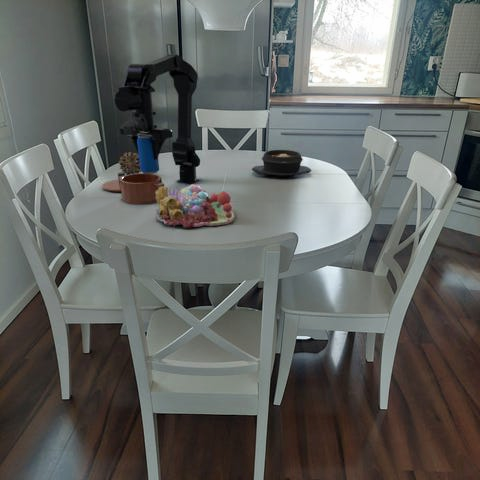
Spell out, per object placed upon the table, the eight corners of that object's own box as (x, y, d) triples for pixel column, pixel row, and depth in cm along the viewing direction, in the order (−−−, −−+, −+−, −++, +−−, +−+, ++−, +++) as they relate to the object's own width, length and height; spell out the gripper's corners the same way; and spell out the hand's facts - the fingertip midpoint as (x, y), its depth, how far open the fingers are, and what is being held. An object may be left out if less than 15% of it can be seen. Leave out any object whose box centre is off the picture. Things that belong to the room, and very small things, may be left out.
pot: (136, 189, 169) (134, 170, 166) (176, 197, 160) (175, 177, 157) (108, 198, 159) (105, 178, 156) (149, 208, 150) (147, 187, 147)
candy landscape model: (165, 233, 130) (163, 202, 125) (146, 210, 149) (143, 181, 144) (245, 222, 139) (245, 192, 134) (217, 201, 157) (216, 174, 152)
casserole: (252, 179, 182) (253, 158, 177) (250, 168, 198) (251, 148, 193) (314, 179, 183) (316, 158, 178) (307, 168, 198) (309, 148, 194)
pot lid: (132, 180, 181) (130, 166, 178) (150, 188, 170) (148, 174, 167) (96, 186, 173) (94, 171, 170) (112, 195, 163) (110, 180, 160)
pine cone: (140, 181, 179) (137, 155, 174) (116, 181, 179) (113, 155, 174) (152, 168, 198) (150, 144, 192) (130, 168, 198) (128, 144, 193)
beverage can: (155, 175, 154) (151, 137, 148) (137, 174, 155) (133, 137, 149) (162, 170, 159) (158, 134, 153) (144, 169, 161) (140, 133, 154)
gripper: (104, 108, 145) (111, 159, 153) (148, 113, 137) (152, 166, 145) (129, 105, 153) (134, 153, 161) (172, 109, 145) (175, 160, 153)
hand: (148, 158), depth 155 cm, fingers closed on beverage can, 6 cm apart
